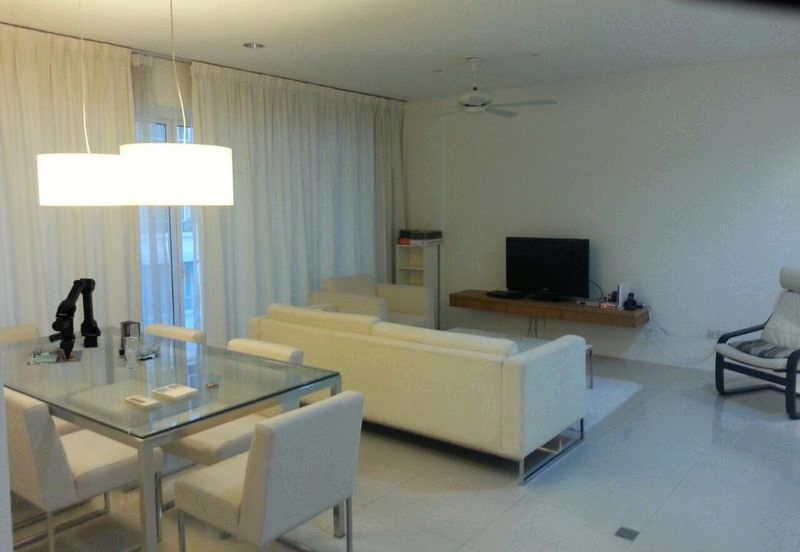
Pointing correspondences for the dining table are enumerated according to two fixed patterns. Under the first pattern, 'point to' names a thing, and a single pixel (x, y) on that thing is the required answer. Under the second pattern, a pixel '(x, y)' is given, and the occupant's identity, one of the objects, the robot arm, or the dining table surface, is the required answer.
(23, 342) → the dining table surface
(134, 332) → the coffee box
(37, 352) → the bench stop
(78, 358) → the mat
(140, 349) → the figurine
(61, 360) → the socket
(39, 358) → the tray
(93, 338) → the robot arm
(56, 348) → the beige slab
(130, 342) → the beer glass
